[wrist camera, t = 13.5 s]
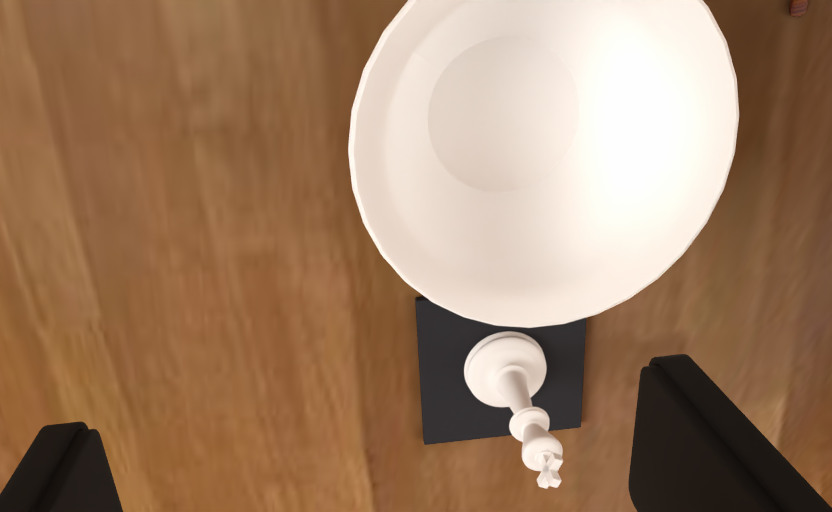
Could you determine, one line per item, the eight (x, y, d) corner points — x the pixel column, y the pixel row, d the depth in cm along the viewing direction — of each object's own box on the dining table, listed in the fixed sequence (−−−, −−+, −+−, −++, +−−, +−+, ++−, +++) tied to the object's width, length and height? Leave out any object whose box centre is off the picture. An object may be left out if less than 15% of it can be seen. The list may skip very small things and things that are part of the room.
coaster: (423, 440, 41) (424, 445, 41) (415, 297, 38) (416, 301, 37) (578, 422, 42) (580, 427, 42) (585, 281, 38) (588, 284, 38)
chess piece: (558, 344, 39) (626, 454, 30) (522, 410, 41) (576, 534, 31) (484, 320, 38) (531, 427, 29) (450, 389, 39) (484, 511, 30)
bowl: (522, 305, 38) (570, 387, 31) (286, 155, 34) (269, 206, 26) (710, 75, 34) (820, 100, 27) (472, -132, 30) (520, -176, 22)
